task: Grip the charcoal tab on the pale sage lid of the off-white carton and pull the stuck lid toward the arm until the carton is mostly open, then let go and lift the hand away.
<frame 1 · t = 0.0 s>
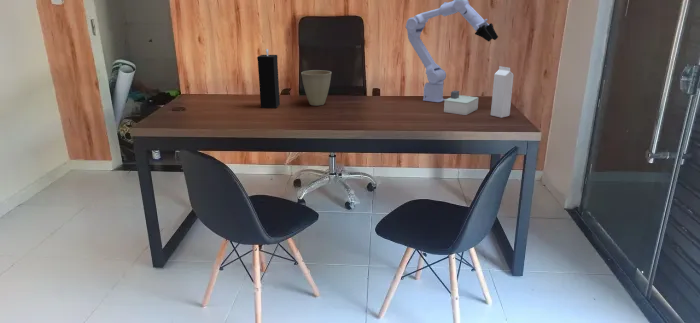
hand: (493, 39, 228), 32 cm above the table, tool tilted 50°, fingers open, 7 cm apart
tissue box: (270, 106, 244), on the table
plant pot: (317, 104, 248), on the table
milk: (499, 115, 224), on the table
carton: (460, 110, 233), on the table
lid: (461, 96, 231), point 7 cm above the table, slide at 0.0 cm
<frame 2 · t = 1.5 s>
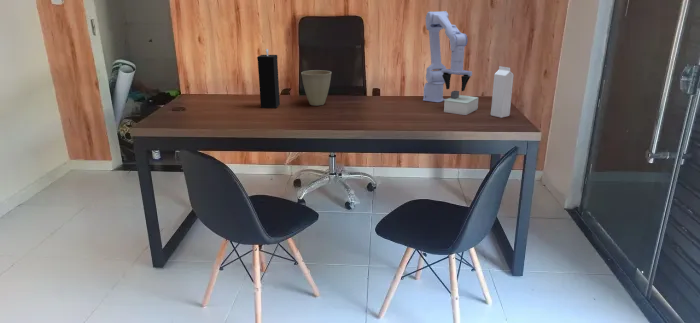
hand: (455, 89, 232), 9 cm above the table, tool pointing down, fingers open, 7 cm apart
nothing on the table moved.
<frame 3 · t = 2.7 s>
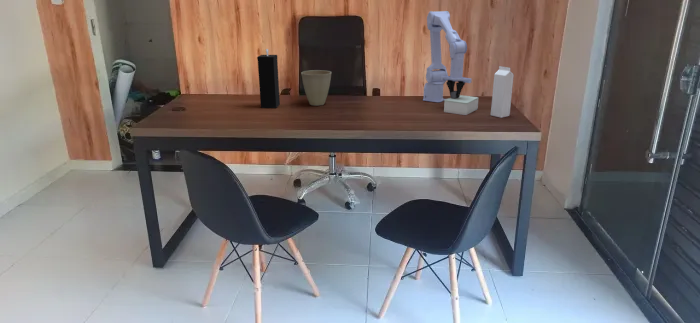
hand: (454, 96, 233), 6 cm above the table, tool pointing down, fingers closed on lid, 2 cm apart
lid: (461, 96, 231), point 7 cm above the table, slide at 0.0 cm, touching gripper
everything else where it was.
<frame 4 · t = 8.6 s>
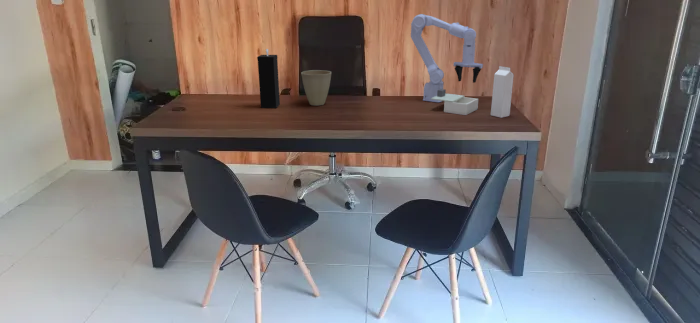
hand: (467, 81, 247), 10 cm above the table, tool pointing down, fingers open, 7 cm apart
lid: (448, 94, 235), point 7 cm above the table, slide at 7.0 cm
everything else where it was.
at the end: lid slide at 7.0 cm; the gripper is holding nothing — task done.
